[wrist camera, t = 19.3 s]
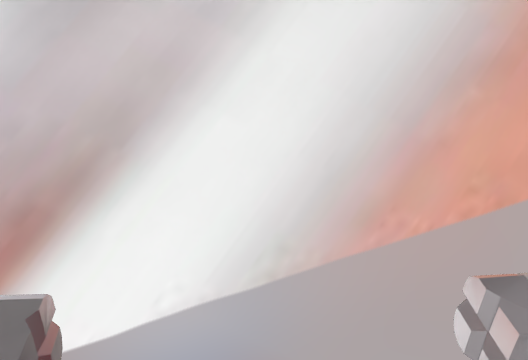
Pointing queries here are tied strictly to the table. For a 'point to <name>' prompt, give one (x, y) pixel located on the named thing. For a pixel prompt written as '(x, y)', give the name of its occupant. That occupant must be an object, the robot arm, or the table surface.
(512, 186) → the table surface
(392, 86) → the table surface
